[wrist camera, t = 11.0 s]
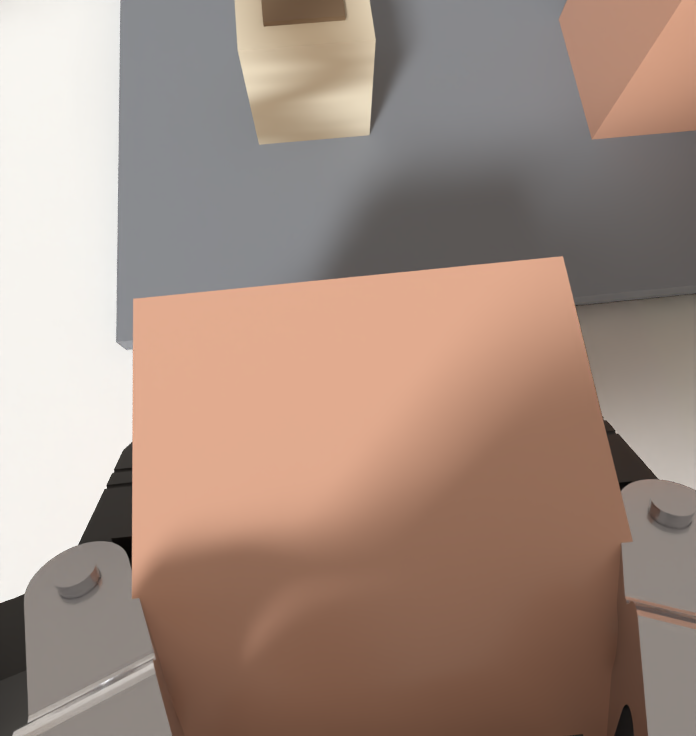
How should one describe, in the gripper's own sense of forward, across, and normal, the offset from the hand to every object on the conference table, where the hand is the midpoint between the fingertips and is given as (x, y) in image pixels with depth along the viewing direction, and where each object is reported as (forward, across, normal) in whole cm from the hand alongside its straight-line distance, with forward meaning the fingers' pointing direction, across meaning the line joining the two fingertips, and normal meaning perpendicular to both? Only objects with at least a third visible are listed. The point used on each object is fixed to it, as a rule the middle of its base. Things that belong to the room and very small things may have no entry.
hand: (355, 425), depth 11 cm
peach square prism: (+1, 0, +4) cm, 4 cm away
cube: (+13, 0, -6) cm, 14 cm away
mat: (+14, -6, -5) cm, 16 cm away
